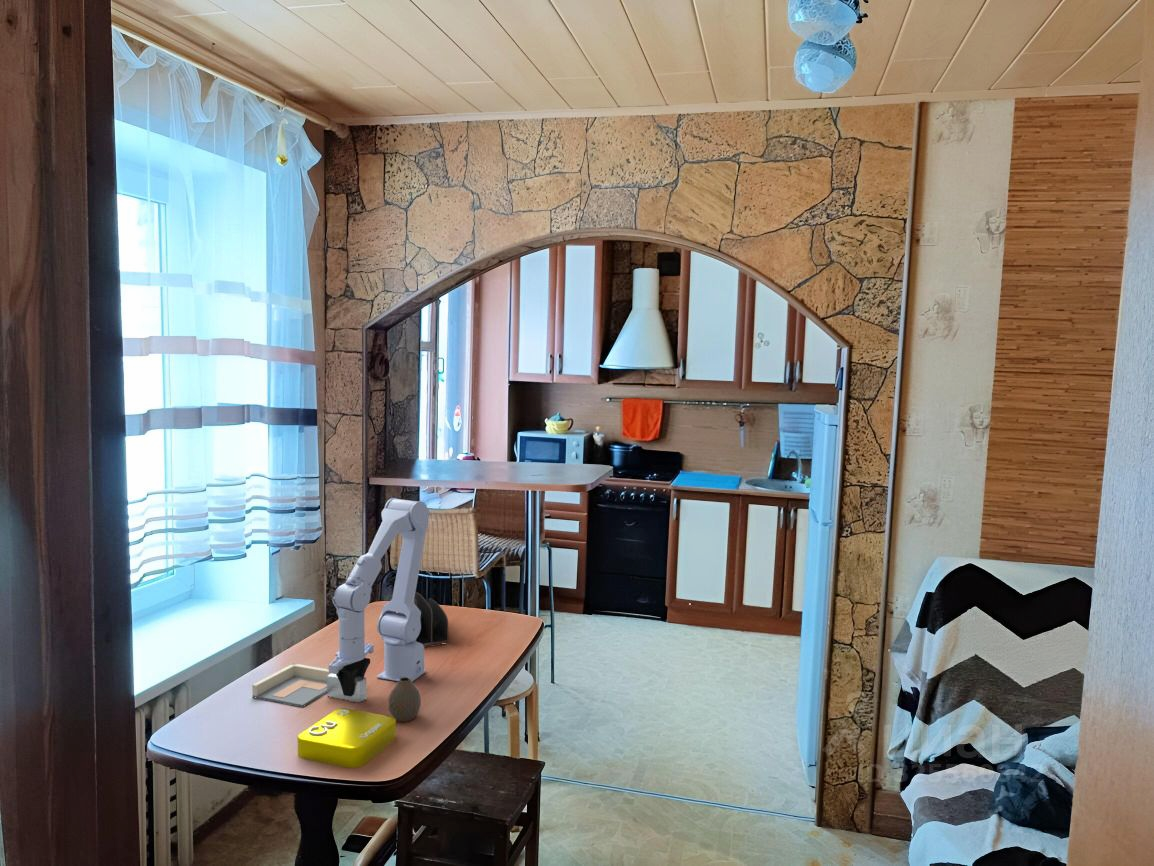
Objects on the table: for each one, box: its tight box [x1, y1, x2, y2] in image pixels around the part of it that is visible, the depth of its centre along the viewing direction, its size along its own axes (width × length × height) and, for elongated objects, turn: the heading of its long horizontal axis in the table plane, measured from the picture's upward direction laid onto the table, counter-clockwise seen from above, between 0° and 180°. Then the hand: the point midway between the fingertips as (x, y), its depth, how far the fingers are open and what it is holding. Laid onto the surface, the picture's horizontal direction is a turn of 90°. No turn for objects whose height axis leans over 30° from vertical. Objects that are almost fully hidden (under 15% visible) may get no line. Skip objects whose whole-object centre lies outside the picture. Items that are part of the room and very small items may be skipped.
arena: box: [251, 663, 331, 708], centre depth 183 cm, size 14×14×3 cm
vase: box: [388, 677, 422, 722], centre depth 170 cm, size 7×7×9 cm
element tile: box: [297, 707, 397, 769], centre depth 157 cm, size 15×15×5 cm
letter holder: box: [397, 591, 449, 647], centre depth 222 cm, size 10×20×14 cm, turn 26°
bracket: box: [326, 673, 367, 703], centre depth 182 cm, size 9×8×5 cm
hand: (352, 692), depth 179 cm, fingers closed on bracket, 2 cm apart
